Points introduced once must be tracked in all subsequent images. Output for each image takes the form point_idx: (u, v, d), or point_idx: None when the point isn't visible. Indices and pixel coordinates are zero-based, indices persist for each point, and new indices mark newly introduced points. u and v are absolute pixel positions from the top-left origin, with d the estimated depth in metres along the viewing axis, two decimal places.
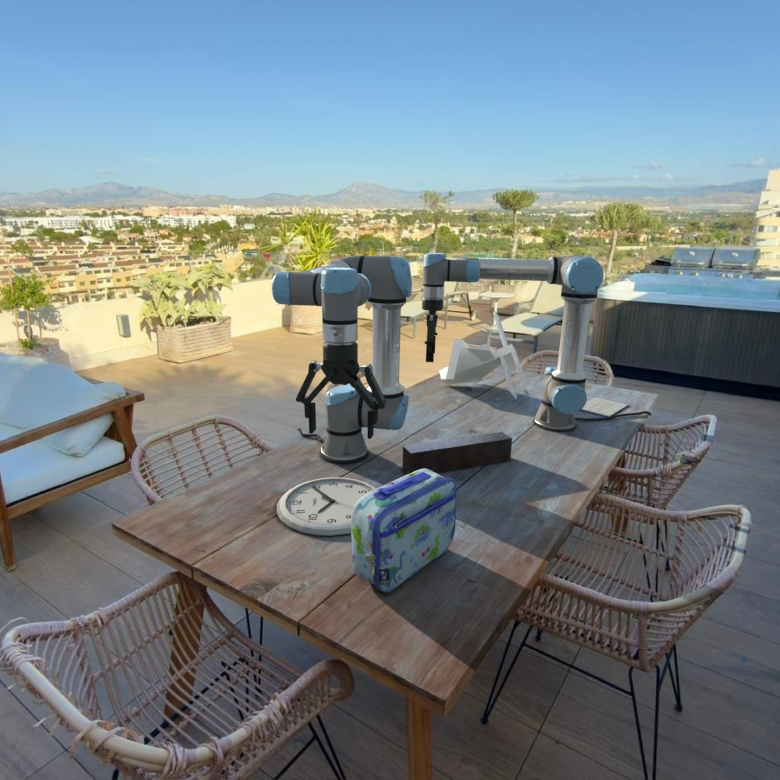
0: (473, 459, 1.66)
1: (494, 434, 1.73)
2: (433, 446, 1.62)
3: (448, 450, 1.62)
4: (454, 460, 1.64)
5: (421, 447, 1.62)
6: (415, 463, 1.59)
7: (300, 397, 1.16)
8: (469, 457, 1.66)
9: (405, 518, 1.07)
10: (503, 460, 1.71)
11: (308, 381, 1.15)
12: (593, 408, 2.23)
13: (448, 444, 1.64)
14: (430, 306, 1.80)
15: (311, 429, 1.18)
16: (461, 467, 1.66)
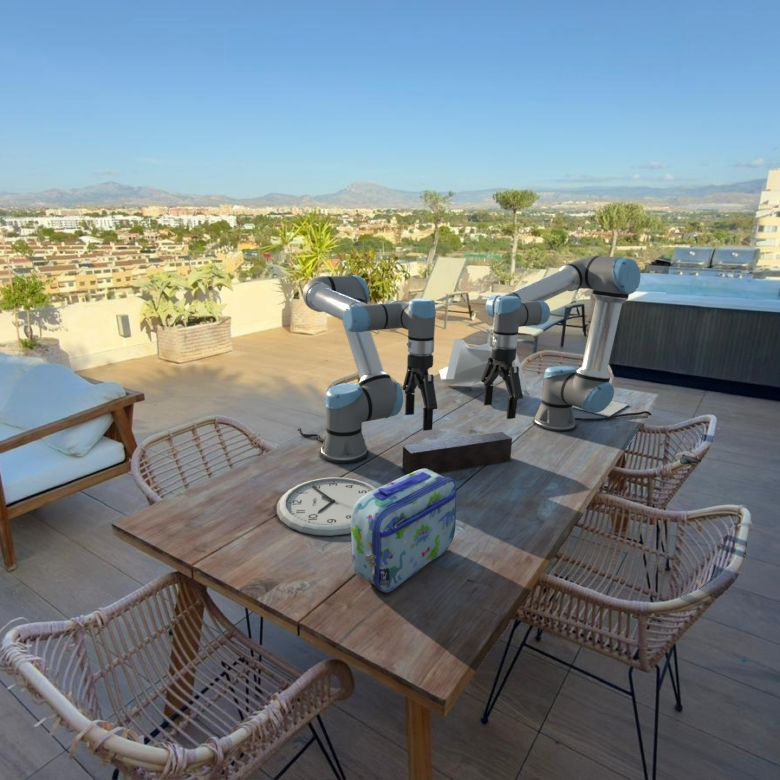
0: (473, 459, 1.66)
1: (494, 434, 1.73)
2: (433, 446, 1.62)
3: (448, 450, 1.62)
4: (454, 460, 1.64)
5: (421, 447, 1.62)
6: (415, 463, 1.59)
7: (404, 387, 1.63)
8: (469, 457, 1.66)
9: (405, 518, 1.07)
10: (503, 460, 1.71)
11: (406, 377, 1.60)
12: None
13: (448, 444, 1.64)
14: (509, 357, 1.59)
15: (406, 412, 1.63)
16: (461, 467, 1.66)
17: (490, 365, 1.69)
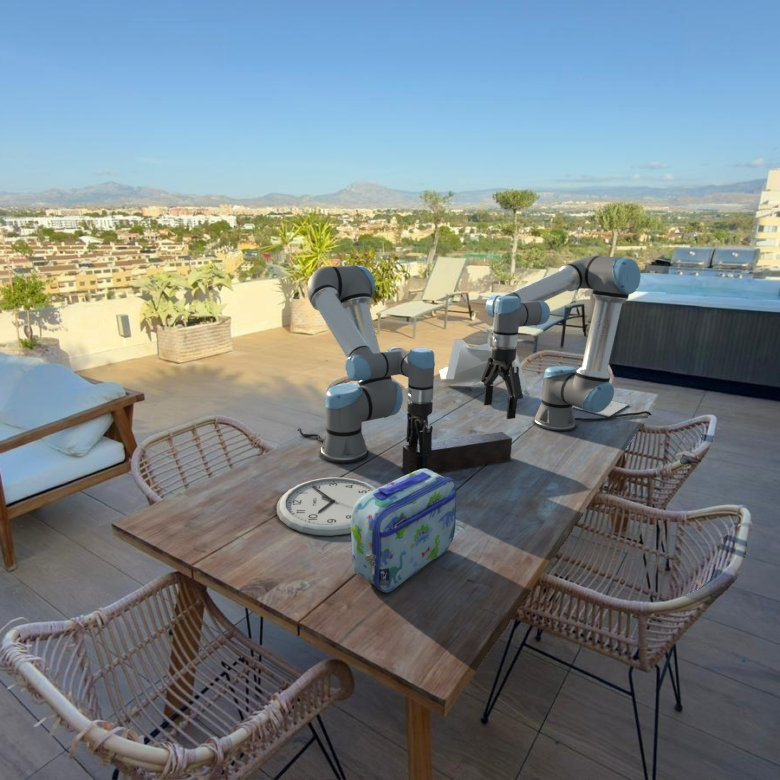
0: (473, 459, 1.66)
1: (494, 434, 1.73)
2: (433, 446, 1.62)
3: (448, 450, 1.62)
4: (454, 460, 1.64)
5: None
6: (415, 463, 1.59)
7: (407, 438, 1.66)
8: (469, 457, 1.66)
9: (405, 518, 1.07)
10: (503, 460, 1.71)
11: (408, 426, 1.64)
12: None
13: (448, 444, 1.64)
14: (509, 357, 1.59)
15: None
16: (461, 467, 1.66)
17: (490, 365, 1.69)
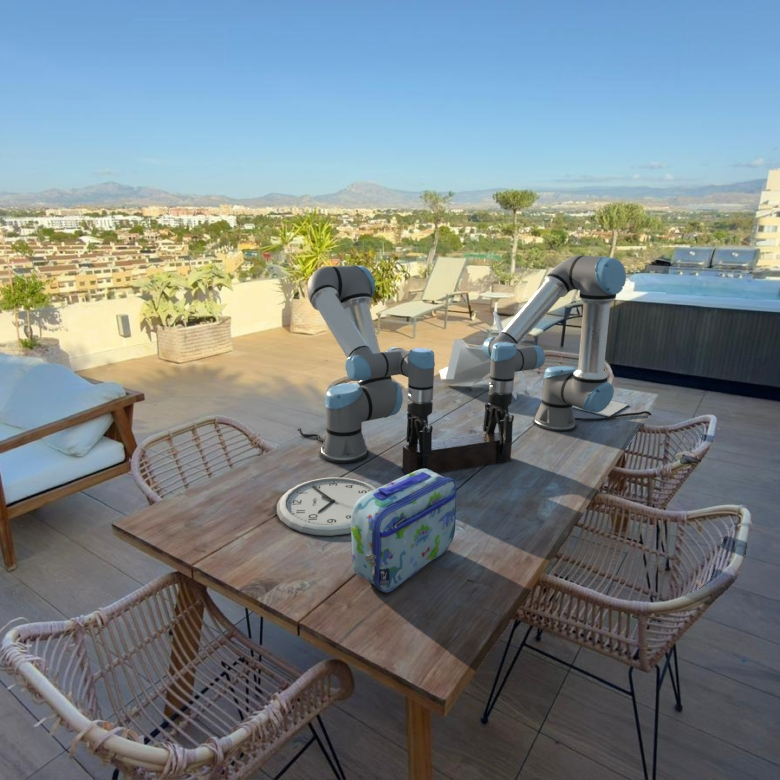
0: (473, 459, 1.66)
1: (494, 434, 1.73)
2: (433, 446, 1.62)
3: (448, 450, 1.62)
4: (454, 460, 1.64)
5: None
6: (415, 463, 1.59)
7: (407, 438, 1.66)
8: (469, 457, 1.66)
9: (405, 518, 1.07)
10: None
11: (408, 426, 1.64)
12: None
13: (448, 444, 1.64)
14: (505, 402, 1.64)
15: None
16: (461, 467, 1.66)
17: (488, 411, 1.73)
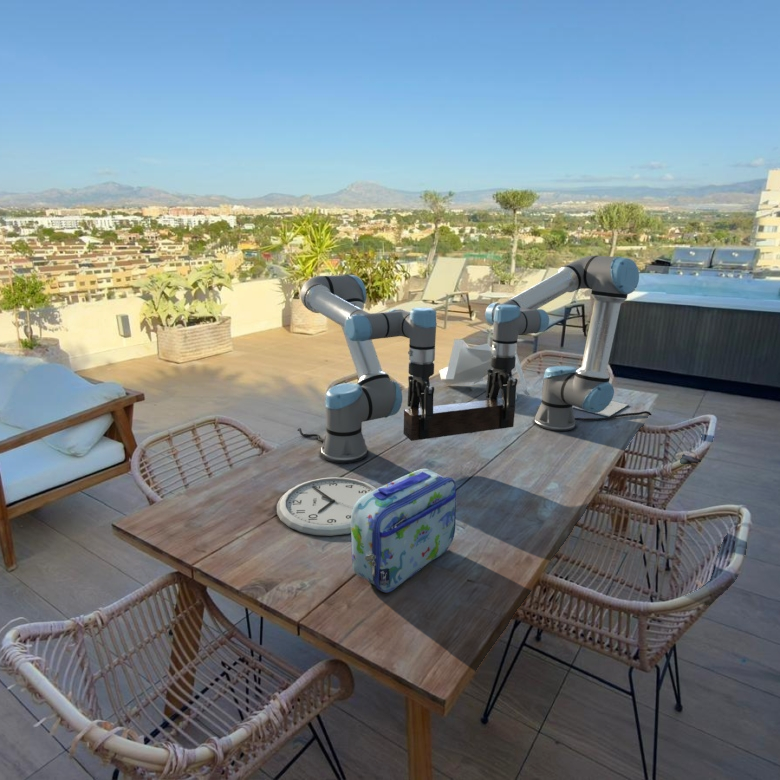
0: (475, 424, 1.63)
1: (497, 400, 1.69)
2: (435, 410, 1.59)
3: (450, 414, 1.59)
4: (456, 424, 1.61)
5: None
6: (416, 426, 1.56)
7: (408, 402, 1.62)
8: (471, 422, 1.62)
9: (405, 518, 1.07)
10: None
11: (409, 389, 1.61)
12: None
13: (450, 408, 1.61)
14: (508, 365, 1.60)
15: None
16: (463, 432, 1.62)
17: (491, 376, 1.70)
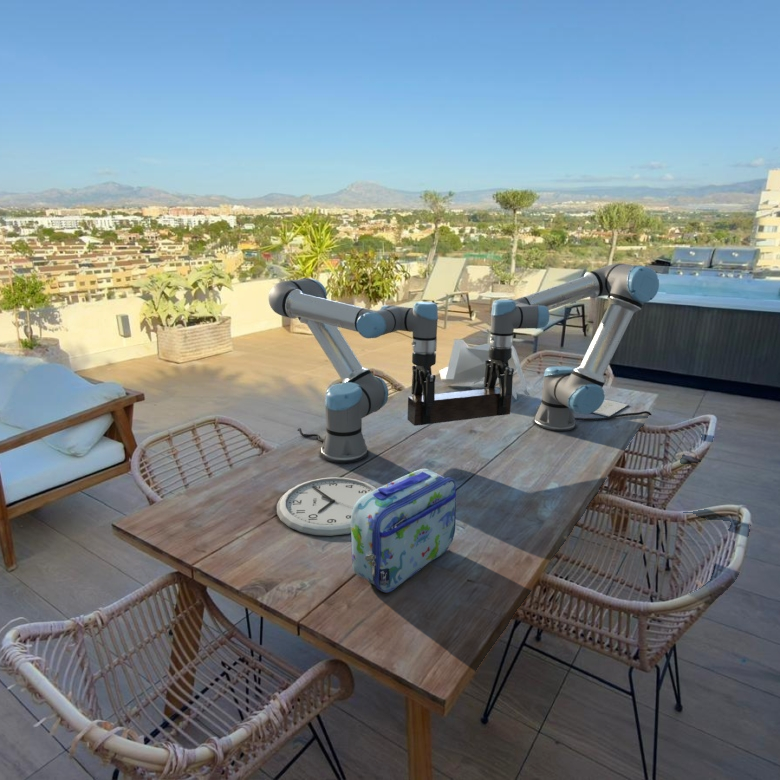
0: (474, 411, 1.75)
1: (495, 389, 1.81)
2: (437, 397, 1.71)
3: (451, 401, 1.70)
4: (457, 411, 1.72)
5: None
6: (420, 412, 1.67)
7: (412, 390, 1.74)
8: (470, 409, 1.74)
9: (405, 518, 1.07)
10: None
11: (413, 378, 1.73)
12: None
13: (451, 396, 1.72)
14: (505, 356, 1.72)
15: None
16: (463, 418, 1.74)
17: (488, 367, 1.82)
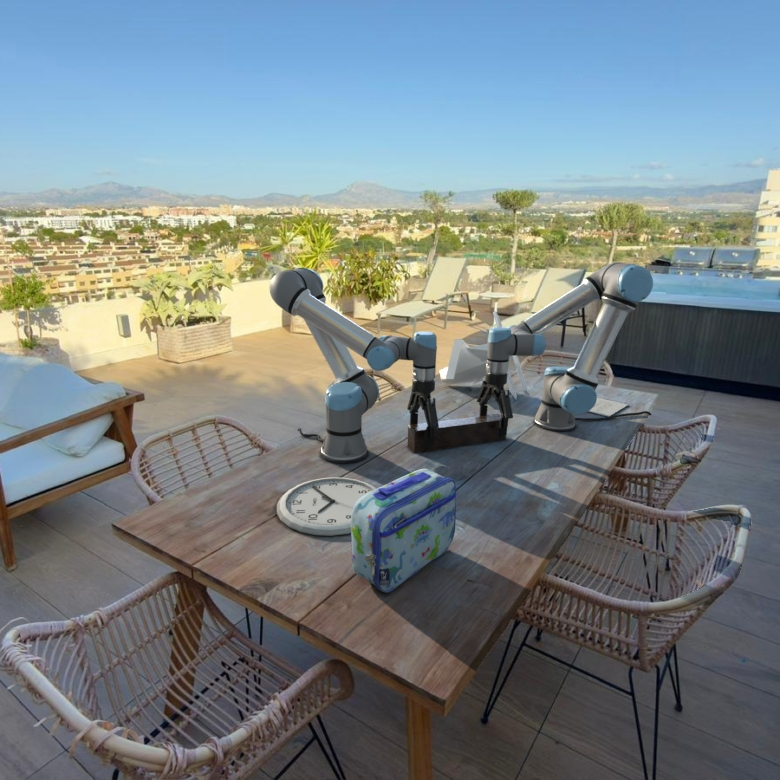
0: (471, 438, 1.84)
1: (491, 415, 1.90)
2: None
3: (449, 429, 1.79)
4: (454, 438, 1.81)
5: (424, 426, 1.79)
6: (419, 440, 1.76)
7: (408, 407, 1.85)
8: (467, 436, 1.83)
9: (405, 518, 1.07)
10: (499, 439, 1.88)
11: (411, 398, 1.82)
12: (593, 408, 2.23)
13: (449, 424, 1.81)
14: (500, 381, 1.80)
15: None
16: (461, 445, 1.83)
17: (484, 387, 1.90)
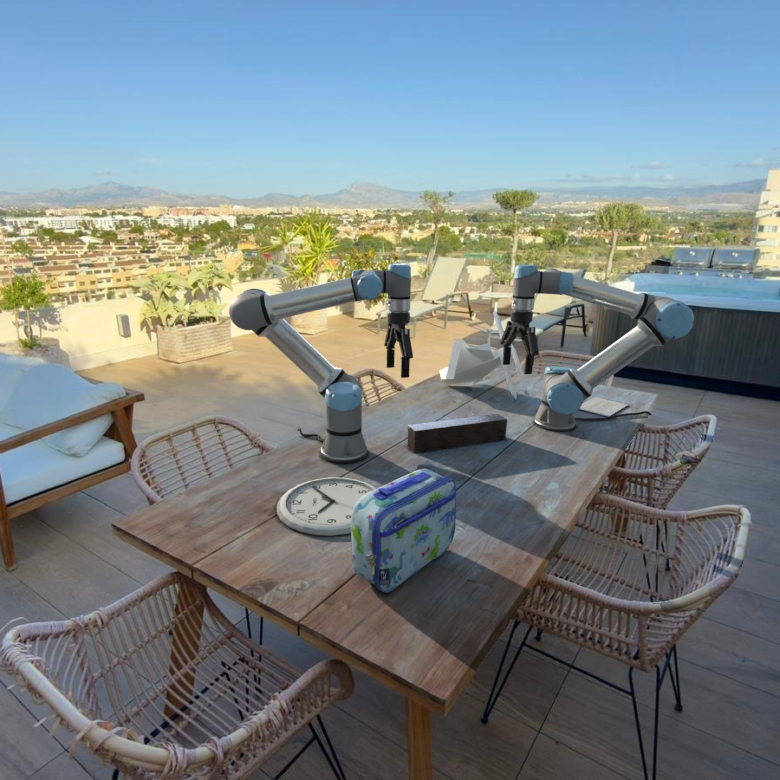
0: (471, 438, 1.84)
1: (491, 415, 1.90)
2: (435, 425, 1.80)
3: (449, 429, 1.79)
4: (454, 438, 1.81)
5: (424, 426, 1.79)
6: (419, 440, 1.76)
7: (385, 343, 1.87)
8: (467, 436, 1.83)
9: (405, 518, 1.07)
10: (499, 439, 1.88)
11: (387, 334, 1.84)
12: (593, 408, 2.23)
13: (449, 424, 1.81)
14: (526, 319, 1.79)
15: (387, 365, 1.87)
16: (461, 445, 1.83)
17: (509, 328, 1.89)
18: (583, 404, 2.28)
